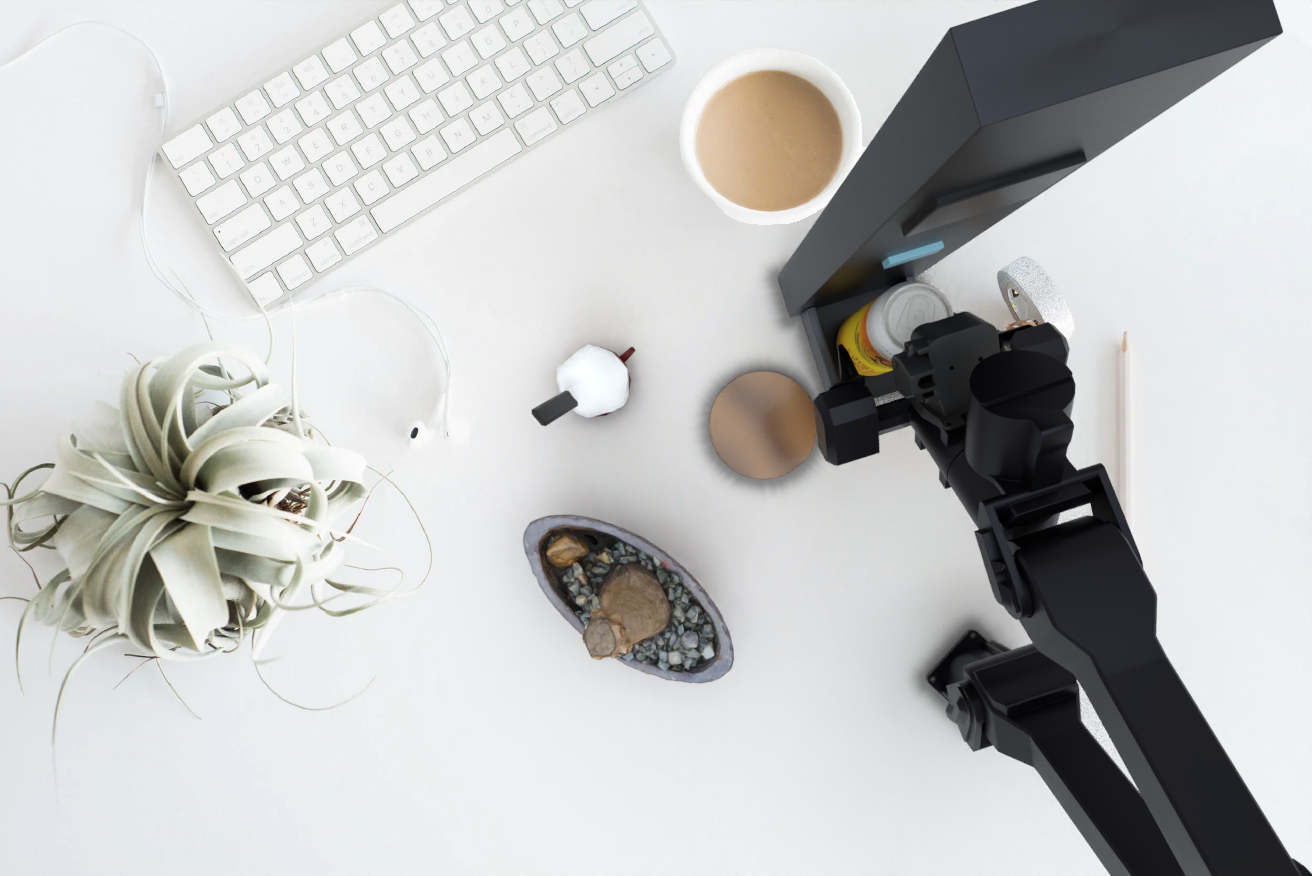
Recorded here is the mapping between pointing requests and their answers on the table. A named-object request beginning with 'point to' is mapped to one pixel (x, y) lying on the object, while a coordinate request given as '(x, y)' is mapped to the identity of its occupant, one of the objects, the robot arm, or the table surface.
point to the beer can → (890, 324)
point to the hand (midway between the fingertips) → (893, 331)
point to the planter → (628, 599)
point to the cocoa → (588, 385)
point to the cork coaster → (763, 425)
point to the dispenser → (1002, 137)
